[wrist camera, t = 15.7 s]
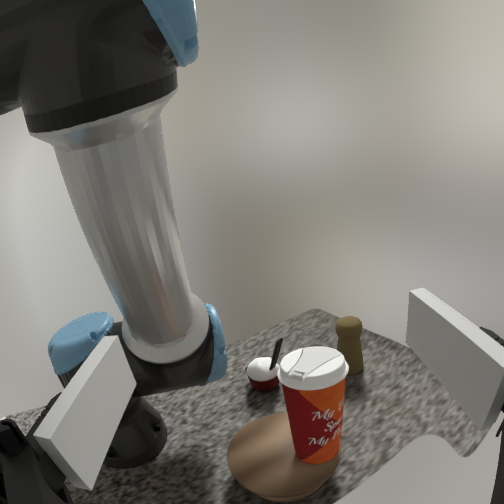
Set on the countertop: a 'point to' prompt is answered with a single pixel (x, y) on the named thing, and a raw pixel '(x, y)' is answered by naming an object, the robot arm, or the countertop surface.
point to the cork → (350, 342)
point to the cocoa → (265, 370)
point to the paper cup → (314, 400)
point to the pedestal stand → (275, 461)
